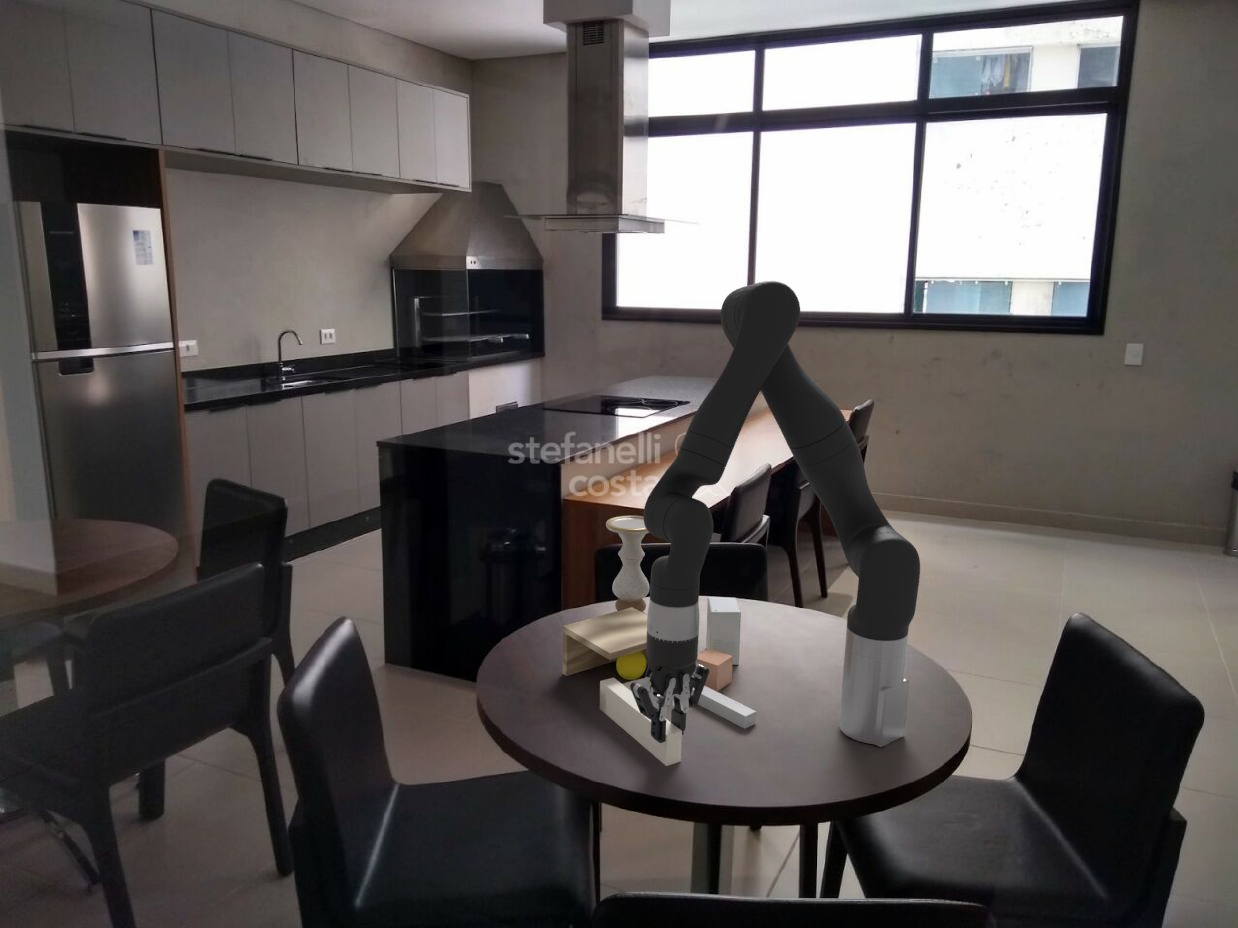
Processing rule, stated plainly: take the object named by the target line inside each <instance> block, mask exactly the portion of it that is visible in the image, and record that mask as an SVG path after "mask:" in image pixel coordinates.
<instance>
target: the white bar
mask: <svg viewBox="0 0 1238 928" xmlns="http://www.w3.org/2000/svg"><path fill="white" fill-rule="evenodd" d="M644 678H645V677H644ZM644 678H638V679H634V680H630V681H627V682H624V683H621V682H620V681H619V680H618V679H616V678H615V677H611V678H607V679H603V680H600V682H599V710H601V711H602V712H603V713H604V714H605V715H606V716H608V717H609V718H610V719H611V720H612V721H613V722H615V724H616V725H618V726H620V728H621V729H622V730H624V731H625V732H626V733H627V734H628V735H630V736H631V737H632V738H633V739H634V740H635V741H636V742H638V743H639V744H640V745H641V746H642V747H643V748H644V749H645V750H647V751H648V752H649V753H651V755H653V756H654V757H655V758H656V759H658V760H659V762H660V763H662V764H663V765H664V766H666V767H668V766H671V765H674V764H677V763H680V762H682V742H683V741H682V738H683V735H682V731H681V730H680V729H679V728H677V727H676V726H675V725H674V724H672V723H671V720H668V719H667V717H666V718H665V720H666V739H665V742H663V743H659V742H658V741H656V740H655V739H654V738H653V737H652V736H651V720H650V719H649V718H647V717H646V716H644V715H643V714H641V713H640V711H639V708H638V706H637V703H636V701H635V699H634V696H633V694H632V691H631V689H630V685H631V683H632V682H636V683H639V682H640V681H642V680H643V679H644ZM649 697H650V695H649Z"/></svg>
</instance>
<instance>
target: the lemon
mask: <svg viewBox="0 0 1238 928" xmlns="http://www.w3.org/2000/svg"><path fill="white" fill-rule="evenodd" d="M615 662H616V663H615V664H616V665H615V666H616V671H617V673H618V675H619V676H620V677H622V679H624V680H627V681H635V680H639V679H640V677H641V676H643V675H644V673H645V672H646V670H647V666H646V664H647V661H646V658H645V655H644V654H643V653H642V651H638V652H635V653H631V654H628V655H625V656H622V657H618V659H617V661H615Z"/></svg>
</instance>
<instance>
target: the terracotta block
mask: <svg viewBox="0 0 1238 928" xmlns="http://www.w3.org/2000/svg"><path fill="white" fill-rule="evenodd" d="M695 663H699V664H701V665H703V666H705V667H706V668H708V669H709V675H708V677H707V680H706V683H705V685H704V686H706V687H708V688H710V689H712V690H714V691H716V692H719V691H720V690H721V689H723V688H725V687H726V686H727V685H729V684H730V683H732V681H733V680H732V679H733V665H732V663H733V656H731V655H728V654H725V653H722V652H718V651H715V650H712V649H707V648H706V649H705V650H704V651H702V652H701V653H699V654H698V657H697V660H696V662H695Z"/></svg>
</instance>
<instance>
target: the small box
mask: <svg viewBox="0 0 1238 928" xmlns="http://www.w3.org/2000/svg"><path fill="white" fill-rule="evenodd" d="M706 606H707V609H706V610H707V611H706V612H707V613H706V637H705V638H706V640H705V642H706V643H705V647H706V648H705V649H706V650H707V649H712V650H715V651H718V652H722V653H725V654H728V655H731V656H733V663H732V666H733V665H734V666H738V665H739V664H740V647H741V646H740V644H741V622H742V621H741V620H742V619H741V618H742V612H741V608H740V607H739V602H738V600H737V597H724V596H723V597H718V596H717V597H715V596H711V597H710V596H709V597H707V605H706Z"/></svg>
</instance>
